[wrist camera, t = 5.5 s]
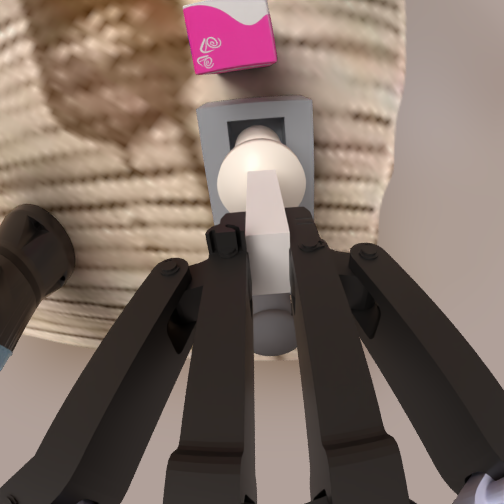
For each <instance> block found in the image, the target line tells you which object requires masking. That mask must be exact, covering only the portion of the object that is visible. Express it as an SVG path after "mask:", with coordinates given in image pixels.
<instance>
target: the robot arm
mask: <svg viewBox="0 0 504 504" xmlns="http://www.w3.org/2000/svg"><path fill="white" fill-rule="evenodd" d="M205 235H206V240H207V245H208V250H209V258H208V259H207V260H205V261H203V262H201V263H198V264H194V265H191V266H188V263H187V261H185V260H184V259H181V258H170V259H166V260H164V261H162V262H160V263H158V264H157V265H156V266H155V267H154V269H153V270H152V271H151V273H150V274H149V275H148V277H147V278H146V279H145V281H144V282H143V283H142V285H141V286H140V288H139V289H138V290H137V292H136V293H135V294H134V296H133V297H132V299H131V300H130V301H129V303H128V304H127V306H126V307H125V309H124V310H123V311H122V313H121V314H120V316H119V317H118V319H117V320H116V321H115V323H114V324H113V326H112V327H111V329H110V330H109V332H108V333H107V335H106V336H105V338H104V339H103V341H102V342H101V344H100V345H99V347H98V348H97V350H96V352H95V353H94V354H93V356H92V358H91V359H90V361H89V362H88V364H87V366H86V367H85V369H84V370H83V372H82V373H81V375H80V377H79V378H78V380H77V381H76V383H75V385H74V386H73V388H72V390H71V391H70V393H69V395H68V396H67V398H66V400H65V402H64V403H63V405H62V407H61V408H60V410H59V412H58V413H57V415H56V417H55V419H54V421H53V422H52V424H51V426H50V428H49V430H48V431H47V433H46V435H45V437H44V439H43V441H42V443H41V445H40V447H39V449H38V450H37V452H36V454H35V456H34V457H33V458H32V459H30V460H29V461H28V462H27V463H26V464H25V465H24V466H23V467H22V468H21V469H20V470H19V471H18V472H17V473H16V474H15V475H14V476H12V477H11V478H10V479H9V480H8V481H7V482H6V483H5V484H4V485H3V486H2V487H1V488H0V504H120V503H121V502H122V500H123V498H124V496H125V494H126V492H127V490H128V488H129V486H130V484H131V481H132V479H133V477H134V474H135V472H136V470H137V468H138V465H139V463H140V461H141V458H142V456H143V454H144V451H145V449H146V447H147V445H148V442H149V440H150V438H151V435H152V433H153V431H154V429H155V427H156V424H157V422H158V420H159V417H160V415H161V413H162V411H163V408H164V407H165V404H166V402H167V400H168V398H169V396H170V393H171V391H172V389H173V386H174V384H175V382H176V380H177V378H178V376H179V373H180V371H181V369H182V367H183V365H184V363H185V360H186V358H187V356H188V354H189V352H190V350H191V347H192V345H193V349H192V355H191V362H190V368H189V375H188V382H187V389H186V396H185V403H184V411H183V418H182V427H181V435H180V442H179V446H178V448H177V450H175V451H174V452H173V453H172V454H171V456H170V458H169V460H168V465H167V470H166V478H165V487H164V497H163V504H257V487H256V477H255V420H254V332H253V299H252V295H264V294H278V293H290V292H291V316H293V319H294V326H295V334H296V341H297V349H298V357H299V365H300V373H301V382H302V391H303V400H304V408H305V418H306V428H307V438H308V448H309V459H310V493H311V494H310V495H311V502H308V503H306V504H416V503H415V502H414V501H412V500H410V499H409V496H408V491H407V485H406V479H405V474H404V469H403V464H402V459H401V455H400V451H399V448H398V445H397V442H396V441H395V439H394V438H393V437H392V436H390V435H388V434H387V433H386V431H385V429H384V426H383V422H382V419H381V414H380V410H379V406H378V402H377V398H376V394H375V390H374V387H373V383H372V379H371V375H370V372H369V368H368V365H367V361H366V358H365V355H364V351H363V348H362V344H361V341H360V339H361V340H362V342H363V343H364V344H365V346H366V348H367V349H368V351H369V353H370V354H371V356H372V358H373V359H374V361H375V363H376V364H377V366H378V367H379V369H380V371H381V372H382V374H383V376H384V377H385V379H386V381H387V382H388V384H389V386H390V387H391V389H392V391H393V392H394V394H395V396H396V397H397V399H398V401H399V402H400V404H401V406H402V408H403V409H404V411H405V413H406V414H407V416H408V418H409V420H410V421H411V423H412V425H413V427H414V428H415V430H416V432H417V434H418V435H419V437H420V439H421V441H422V443H423V445H424V446H425V448H426V450H427V452H428V454H429V456H430V457H431V459H432V461H433V463H434V465H435V467H436V468H437V470H438V472H439V473H440V475H441V477H442V478H443V479H444V481H445V482H446V483H447V484H448V485H449V487H450V488H451V489H452V490H453V491H454V492H455V493H456V494H457V495H458V496H457V498H456V499H455V500H454V502H453V503H452V504H504V390H503V389H502V387H501V386H500V384H499V383H498V381H497V380H496V379H495V377H494V376H493V374H492V373H491V372H490V370H489V369H488V368H487V366H486V365H485V364H484V362H483V361H482V360H481V358H480V357H479V356H478V355H477V353H476V352H475V351H474V349H473V348H472V347H471V346H470V345H469V343H468V342H467V341H466V339H465V338H464V337H463V336H462V335H461V333H460V332H459V331H458V330H457V328H455V326H454V325H453V324H452V322H451V321H450V320H449V319H448V318H447V317H446V315H445V314H444V313H443V312H442V311H441V310H440V309H439V308H438V306H437V305H436V304H435V303H434V302H433V301H432V300H431V299H430V298H429V296H428V295H427V294H426V293H425V292H424V291H423V290H422V289H421V288H420V286H418V284H417V283H416V282H415V281H414V280H413V279H412V278H411V277H410V276H409V275H408V274H407V273H406V272H405V271H404V270H403V269H402V268H401V267H400V266H399V264H398V263H397V262H396V261H395V260H394V259H393V258H391V256H390V255H389V254H388V253H387V252H386V251H385V250H383V249H382V248H381V247H379V246H377V245H375V244H372V243H359V244H356V245H354V246H353V247H352V248H351V250H350V253H344V252H338V251H334V250H331V249H329V247H328V245H327V243H326V242H325V241H324V240H322V239H320V236H319V234H318V231H317V228H316V226H315V223H314V220H313V218H312V215H311V212H310V211H309V210H308V209H306V208H305V207H304V206H303V207H287V208H284V204H283V200H282V196H281V191H280V187H279V183H278V178H277V174H276V170H275V169H274V170H260V171H248V172H247V195H246V211H245V212H233V213H226V214H225V215H224V216H223V217H222V218H221V220H220V224H218V225H215V226H213V227H211V228H210V229H208V230H207V232H206V234H205ZM74 265H75V256H74V251H73V247H72V244H71V242H70V239H69V237H68V235H67V234H66V232H65V230H64V229H63V227H62V226H61V225H60V224H59V222H58V221H57V220H56V219H55V218H54V217H53V216H52V215H51V214H49V213H48V212H47V211H45V210H44V209H42V208H40V207H38V206H35V205H31V204H22V205H19V206H17V207H16V208H14V209H13V210H12V211H11V212H10V213H9V214H8V215H7V216H6V217H5V218H4V220H3V222H2V224H1V225H0V371H1V370H2V368H3V367H4V365H5V363H6V362H7V360H8V358H9V357H10V356H11V355H12V353H13V350H14V348H15V346H16V344H17V342H18V340H19V338H20V337H21V335H22V333H23V331H24V329H25V327H26V326H27V324H28V322H29V320H30V319H31V317H32V315H33V313H34V312H35V310H36V308H37V307H38V305H39V304H40V302H41V301H42V300H43V299H45V298H46V297H48V296H49V295H50V294H52V293H53V292H55V291H56V290H58V289H59V288H60V287H62V286H63V285H64V284H65V283H66V281H67V280H68V278H69V277H70V275H71V274H72V272H73V270H74ZM359 337H360V338H359Z"/></svg>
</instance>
